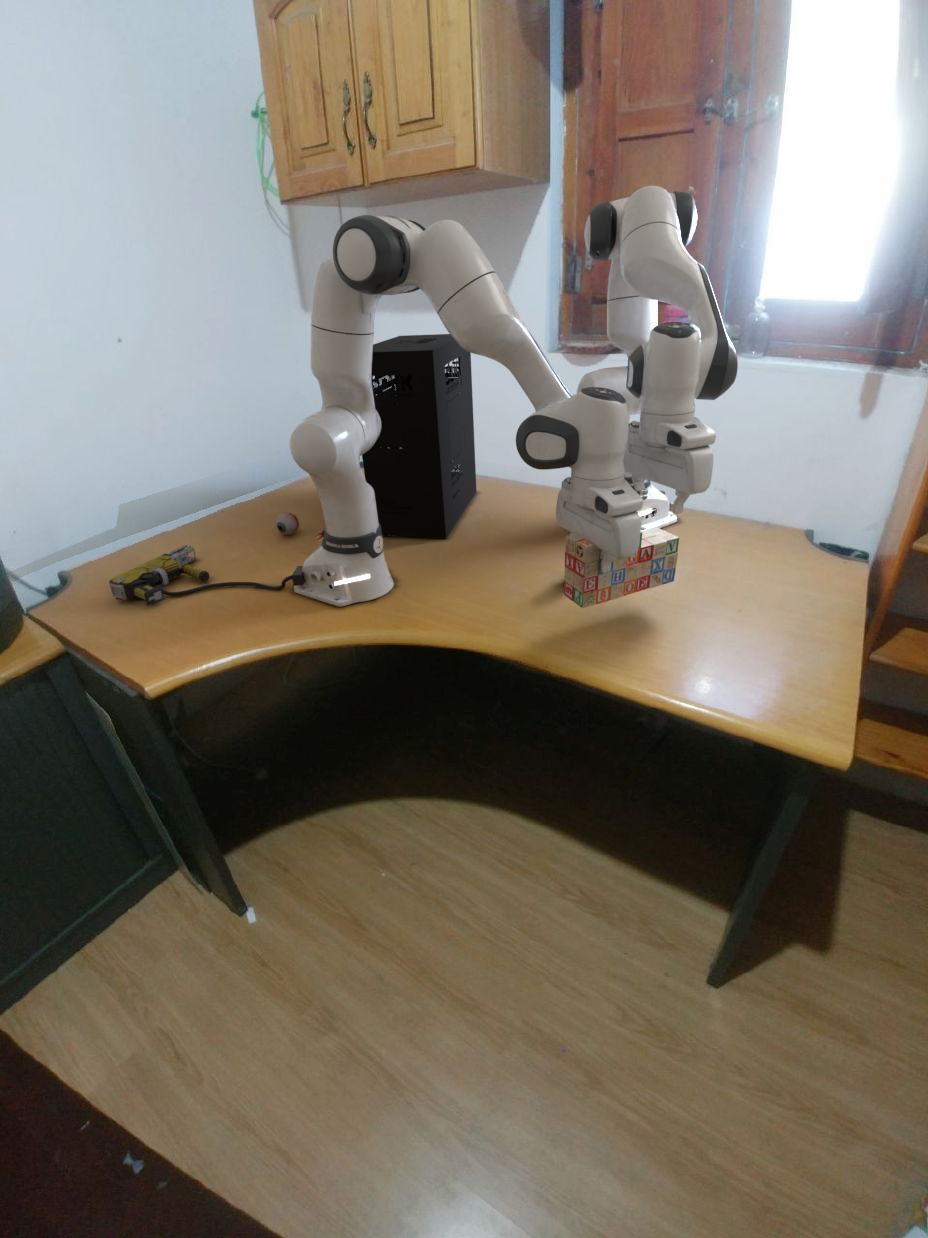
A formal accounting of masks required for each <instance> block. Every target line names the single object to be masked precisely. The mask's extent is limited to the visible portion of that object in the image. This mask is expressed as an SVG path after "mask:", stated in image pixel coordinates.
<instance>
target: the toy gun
mask: <svg viewBox="0 0 928 1238" xmlns="http://www.w3.org/2000/svg"><path fill="white" fill-rule="evenodd" d="M191 553H193V556H190V554H191ZM196 560H197V556H196V551H195V547H194V546H192V545H189V546H188V545H187V544H184V545H182V546H180V547H177V548H176V549H174V550H171V551H170V552H168V553H163V554H161V555H159V556H157V557H155V558H153V559H151V560H149V561H147V562H145V563H142V564H139V565H138V566H136V567H133V568H132V569H129V570H128V571H125V572H123V573H121V574H119V575H117V576H115V577H113V578H111V579H110V580H108V583H109V587H110V591H111V594H112V597H113V598H115V600H117V601H118V600H119V601H120V602H121V601H122V602H123V601H125V600H126V601H131V600H135V599H143V600H144V601H145V605H146V607H150V606H153V605H155V604H157V603H159V602H162V601H164V600H165V595H164V594H163V590H164V589H163V588H164V587H166V586H168V585H169V581H171V580H173V579H175V578H178V577H181V575H182V574H184V575H185V576H189V577H191V578H194V579H196V580H199V581H200V582H202V583H205V582H207V581H209V580H210V573H209V572H208V571H207V570H202V569H200V568H198V567H195V566H192V565H191V564H190V563H192V562H193V561H196ZM162 589H163V590H162Z"/></svg>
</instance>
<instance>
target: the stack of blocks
mask: <svg viewBox="0 0 928 1238" xmlns="http://www.w3.org/2000/svg"><path fill="white" fill-rule="evenodd" d="M570 534H571V533H570ZM570 534H567V535H566V536H565V551H564V582H563V595H564V596H565V597H566V598H567V599H568V600H571V602H574V603H575V604H576V605H577V606H579V607H580V608H581V609H584V608H589V607H591V606H595V605H599V604H602V603H606V602H609V601H614V600H617V599H620V598H623V597H625V596H628V595H631V594H632V595H633V594H635V593H638V592H642V591H645V590H648V589H652V588H656V587H660V586H662V585H666V584H670V583H673V582H674V581H675V575H676V569H677V568H676V567H677V563H678V556H679V555H678V554H679V553H678V551H679V546H680V545H679V543H680V537H679V536H678V535H675V534H673V533H670V532H668V531H665V530H664V529H662V528H660V529H659V528H654V529H650V530H646V531H640V542H639V548H638V551H637V553H636V554H635V555H634V556H632V557H629V558H625V559H620V560H619V559H616V558H615V559H614V560H613V561H612V562H611V570H610V571H609V572H606V573H603V572H601V571H600V570H598V561H602V560H603V558H604V556H603V555H602V550H601V549H599V548H597V547H596V546H595V545H593V544H592V543H590V542H588V541H587V540H586V539H584V538H582V537H581V536H579V535H577V534H571V535H570Z"/></svg>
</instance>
